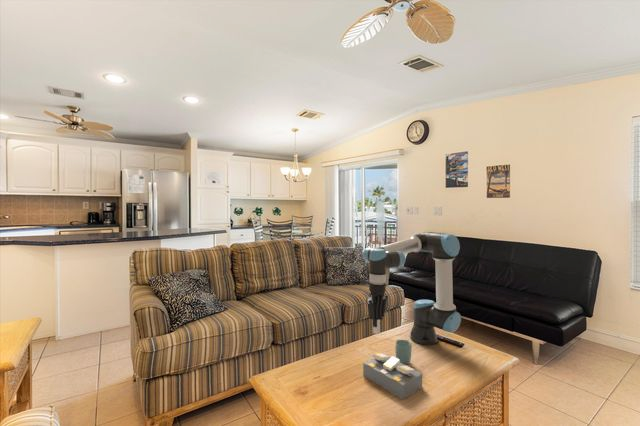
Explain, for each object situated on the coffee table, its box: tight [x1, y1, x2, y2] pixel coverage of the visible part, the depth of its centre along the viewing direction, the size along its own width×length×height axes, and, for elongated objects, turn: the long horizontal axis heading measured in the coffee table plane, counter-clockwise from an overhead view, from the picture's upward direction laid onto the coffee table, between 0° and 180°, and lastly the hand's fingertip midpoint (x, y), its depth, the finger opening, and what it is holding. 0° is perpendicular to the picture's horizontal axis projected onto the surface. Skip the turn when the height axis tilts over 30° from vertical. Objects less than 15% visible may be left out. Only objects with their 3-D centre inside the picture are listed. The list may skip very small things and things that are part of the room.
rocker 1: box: [372, 352, 390, 360], centre depth 144 cm, size 7×4×2 cm, turn 129°
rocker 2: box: [383, 355, 400, 371], centre depth 138 cm, size 7×4×2 cm, turn 128°
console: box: [362, 356, 423, 400], centre depth 138 cm, size 14×22×7 cm, turn 39°
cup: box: [395, 339, 413, 365], centre depth 155 cm, size 8×8×10 cm
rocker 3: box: [397, 365, 415, 374], centre depth 133 cm, size 7×4×2 cm, turn 129°
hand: (376, 333), depth 142 cm, fingers closed
